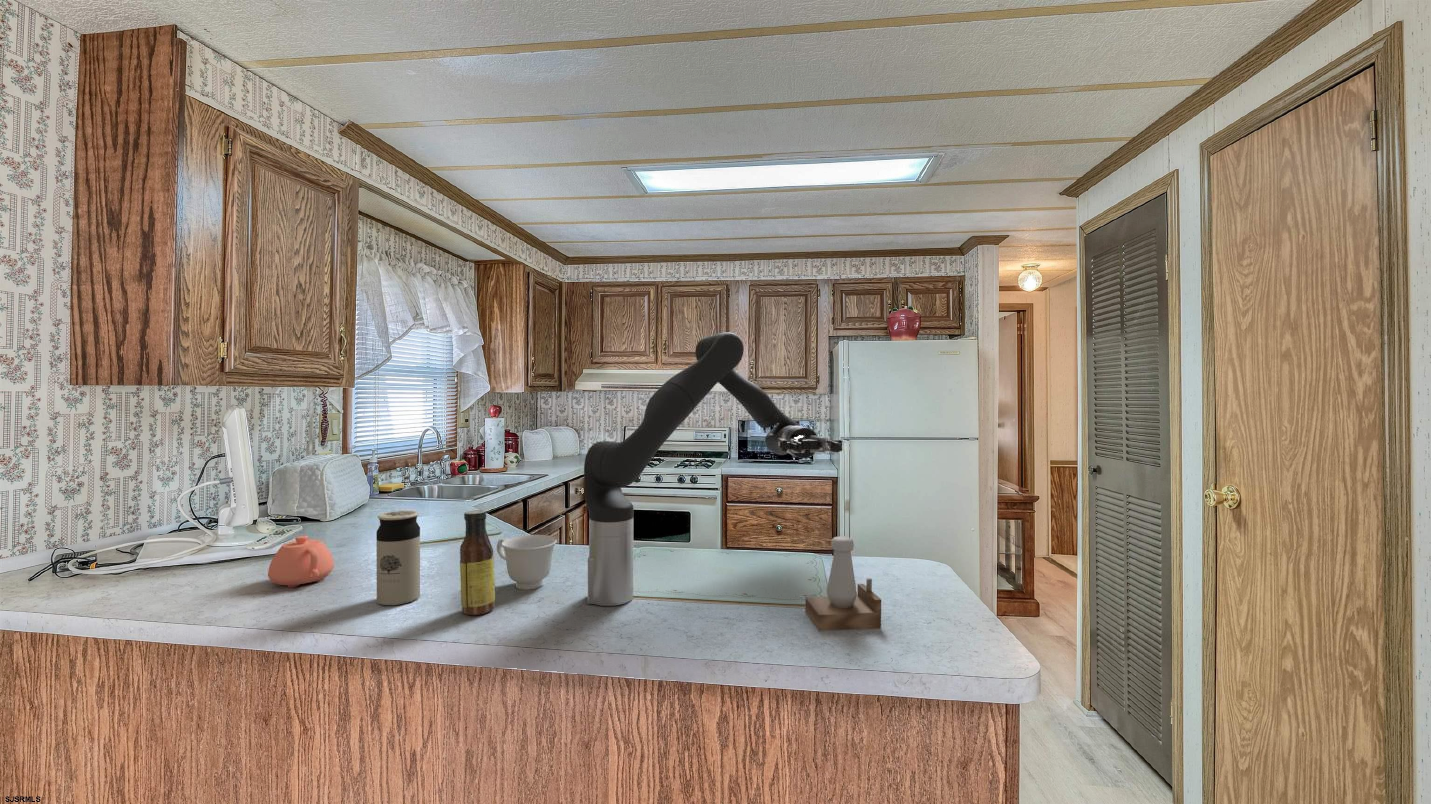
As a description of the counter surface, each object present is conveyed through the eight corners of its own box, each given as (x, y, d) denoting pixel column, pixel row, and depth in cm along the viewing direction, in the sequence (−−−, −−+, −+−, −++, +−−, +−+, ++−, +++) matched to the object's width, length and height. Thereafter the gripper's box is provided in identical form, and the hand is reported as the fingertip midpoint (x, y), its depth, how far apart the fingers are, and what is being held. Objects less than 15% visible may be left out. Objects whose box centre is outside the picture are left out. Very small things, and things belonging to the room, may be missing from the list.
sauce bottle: (501, 607, 117) (501, 509, 116) (479, 618, 111) (479, 516, 110) (475, 603, 119) (475, 507, 119) (452, 614, 113) (452, 513, 113)
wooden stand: (818, 631, 107) (819, 589, 106) (805, 612, 116) (805, 573, 115) (881, 628, 108) (881, 586, 108) (862, 610, 117) (863, 571, 117)
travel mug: (396, 591, 125) (396, 509, 125) (428, 594, 124) (428, 511, 123) (367, 604, 117) (367, 516, 117) (401, 608, 116) (401, 519, 116)
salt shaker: (839, 612, 108) (840, 543, 108) (820, 602, 113) (821, 536, 113) (863, 606, 111) (864, 539, 110) (843, 597, 116) (844, 532, 116)
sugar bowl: (321, 569, 140) (321, 527, 140) (346, 580, 132) (346, 536, 132) (259, 582, 130) (259, 537, 130) (282, 596, 122) (282, 548, 122)
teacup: (515, 572, 139) (515, 531, 139) (567, 580, 133) (567, 537, 133) (478, 588, 128) (478, 543, 127) (533, 598, 122) (533, 551, 122)
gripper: (771, 426, 142) (787, 430, 126) (827, 426, 144) (850, 430, 128) (771, 456, 142) (787, 464, 126) (826, 456, 144) (849, 464, 128)
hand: (818, 447), depth 127 cm, fingers open, 8 cm apart
